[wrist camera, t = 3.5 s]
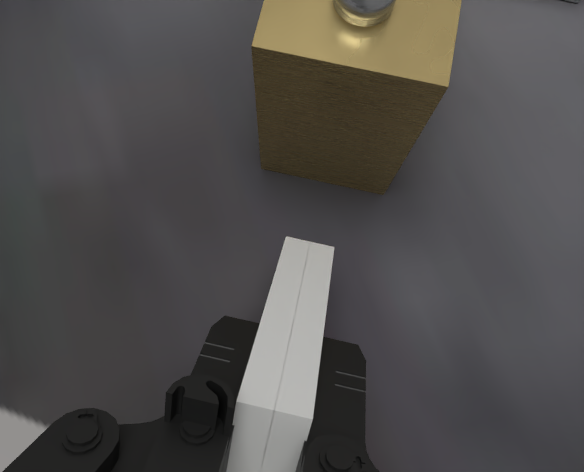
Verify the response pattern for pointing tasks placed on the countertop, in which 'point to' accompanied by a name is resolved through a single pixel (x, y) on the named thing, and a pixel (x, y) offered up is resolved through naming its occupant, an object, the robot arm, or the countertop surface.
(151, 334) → the countertop surface
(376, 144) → the gold studded block
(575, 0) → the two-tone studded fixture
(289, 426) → the robot arm
